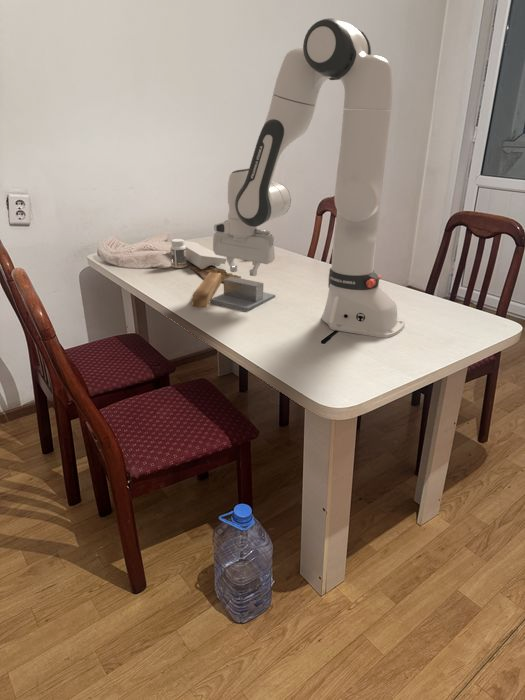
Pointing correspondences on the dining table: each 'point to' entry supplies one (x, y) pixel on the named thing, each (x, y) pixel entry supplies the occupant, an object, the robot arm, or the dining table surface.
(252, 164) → the robot arm
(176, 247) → the pill bottle
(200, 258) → the decorative molding
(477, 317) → the dining table surface
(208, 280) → the wood batten
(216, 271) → the wooden fragment
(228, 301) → the ridge board
